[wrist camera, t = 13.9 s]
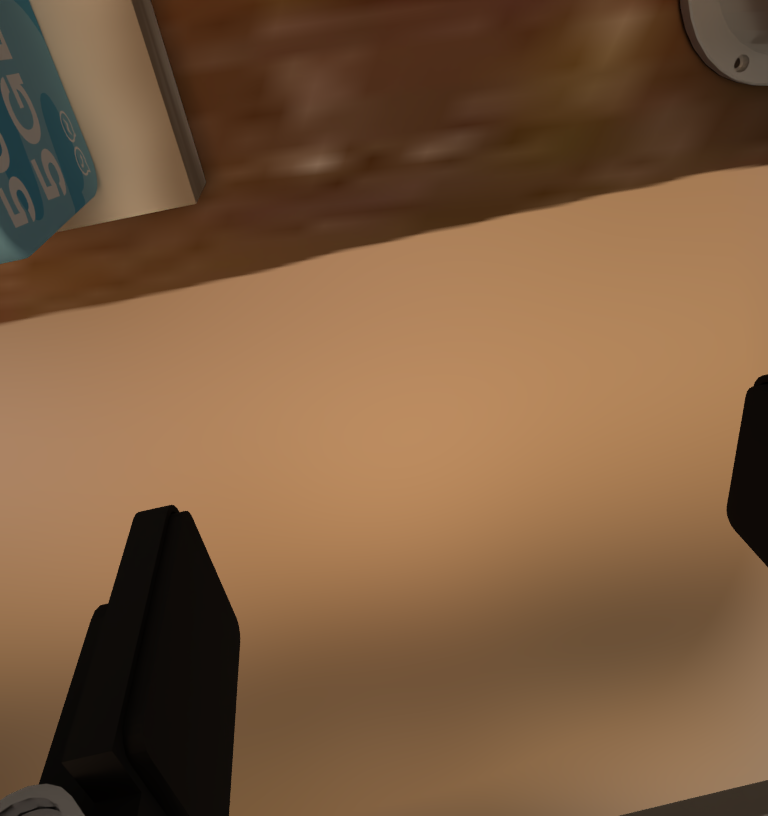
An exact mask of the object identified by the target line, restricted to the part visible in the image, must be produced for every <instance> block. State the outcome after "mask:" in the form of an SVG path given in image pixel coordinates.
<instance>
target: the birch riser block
mask: <svg viewBox="0 0 768 816" xmlns="http://www.w3.org/2000/svg"><path fill="white" fill-rule="evenodd" d="M29 2H30V5H31V7H32V10H33V12H34V15H35V17H36V20H37V22H38V25H39V27H40V30H41V32H42V35H43V37H44V40H45V42H46V45H47V47H48V50H49V52H50V55H51V57H52V60H53V62H54V65H55V67H56V70H57V72H58V75H59V77H60V80H61V82H62V85H63V87H64V90H65V92H66V95H67V97H68V100H69V102H70V105H71V107H72V110H73V112H74V115H75V117H76V120H77V122H78V125H79V127H80V130H81V132H82V135H83V137H84V140H85V142H86V145H87V147H88V150H89V152H90V155H91V158H92V161H93V164H94V167H95V171H96V177H97V192H96V194H95V196H94V197H93V198H92V199H91V200H90V201H89V202H88V203H87V204H86V205H85V206H83V207H82V208H81V209H80V210H79V211H78V212H77V213H76V214H75V215H74V216H73V217H72V218H71V219H69V220H68V221H67V222H66V223H65V224H64V225H63V226H62V227H61V228H60V229H59V230H58V231H57V232H60V231H65V230H69V229H74V228H79V227H84V226H89V225H94V224H99V223H104V222H109V221H114V220H119V219H123V218H128V217H133V216H138V215H143V214H148V213H153V212H158V211H163V210H168V209H173V208H177V207H182V206H187V205H192V204H196V203H197V201H198V199H199V197H200V195H201V192H202V190H203V188H204V186H205V184H206V180H205V177H204V174H203V170H202V167H201V164H200V161H199V157H198V154H197V151H196V148H195V144H194V141H193V138H192V134H191V131H190V128H189V125H188V121H187V118H186V115H185V112H184V108H183V105H182V102H181V99H180V95H179V92H178V89H177V85H176V82H175V79H174V76H173V72H172V69H171V66H170V63H169V59H168V56H167V53H166V50H165V46H164V43H163V40H162V36H161V33H160V30H159V27H158V23H157V20H156V17H155V14H154V10H153V7H152V4H151V0H29Z"/></svg>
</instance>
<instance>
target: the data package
mask: <svg viewBox="0 0 768 816" xmlns="http://www.w3.org/2000/svg"><path fill="white" fill-rule="evenodd" d="M96 192H97V177H96V171H95V167H94V164H93V161H92V158H91V155H90V152H89V150H88V147H87V145H86V142H85V140H84V137H83V135H82V132H81V130H80V127H79V125H78V122H77V120H76V117H75V115H74V112H73V110H72V107H71V105H70V102H69V100H68V97H67V95H66V92H65V90H64V87H63V85H62V82H61V80H60V77H59V75H58V72H57V70H56V67H55V65H54V62H53V60H52V57H51V55H50V52H49V50H48V47H47V45H46V42H45V40H44V37H43V35H42V32H41V30H40V27H39V25H38V22H37V20H36V17H35V15H34V12H33V10H32V7H31V5H30V2H29V0H0V264H2V263H7V262H11V261H16V260H21V259H25V258H28V257H29V256H31V255H32V254H33V253H34V252H35V251H36V250H37V249H38V248H39V247H40V246H41V245H43V244H44V243H45V242H46V241H47V240H48V239H49V238H50V237H51V236H52V235H53V234H54V233H55V232H57V231H58V230H59V229H60V228H61V227H62V226H63V225H64V224H65V223H66V222H67V221H68V220H69V219H71V218H72V217H73V216H74V215H75V214H76V213H77V212H78V211H79V210H80V209H81V208H82V207H83V206H85V205H86V204H87V203H88V202H89V201H90V200H91V199H92V198H93V197H94V196H95V194H96Z"/></svg>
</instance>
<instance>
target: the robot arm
mask: <svg viewBox="0 0 768 816" xmlns="http://www.w3.org/2000/svg"><path fill="white" fill-rule="evenodd" d="M680 7H681V12H682V16H683V21H684V25H685V30H686V32H687V34H688V36H689V39H690V41H691V43H692V45H693V48H694V49H695V51H696V52H697V53H698V55H699V56H700V57H701V59H702V60H703V61H704V63H705V64H706V65H707V66H709V67H710V68H711V69H712V70H714V71H715V72H716V73H718V74H719V75H720V76H723V77H725V78H727V79H730V80H732V81H734V82H737V83H744V84H749V85H765V86H768V0H680ZM735 61H736V62H735ZM734 64H735V65H734ZM727 516H728V519H729V522H730V524H731V526H732V527H733V528H734V529H735V531H736V532H737V533H738V534H739V535H740V537H741V538H742V539H743V540H744V541H745V542H746V543H747V544H748V545H749V547H750V548H751V549H752V550H753V551H754V552H755V553H756V554H757V556H759V558H760V559H761V560H762V561H763V562H764V563H765V564H766V566H767V567H768V375H763V376H761V377H759V378H758V379H757V380H756V382H755V384H754V387H751V388H749V390H748V391H747V394H746V397H745V403H744V409H743V415H742V421H741V427H740V432H739V438H738V444H737V450H736V456H735V462H734V467H733V473H732V480H731V485H730V491H729V497H728V503H727ZM239 651H240V631H239V625H238V621H237V618H236V616H235V614H234V611H233V609H232V607H231V605H230V602H229V600H228V598H227V595H226V593H225V591H224V588H223V586H222V584H221V582H220V579H219V577H218V575H217V572H216V570H215V568H214V566H213V564H212V561H211V559H210V557H209V554H208V552H207V550H206V547H205V545H204V543H203V541H202V538H201V536H200V534H199V531H198V529H197V527H196V525H195V522H194V520H193V518H192V516H191V514H190V513H189V512H188V511H183V512H179V511H178V509H177V508H176V507H175V506H174V505H169V506H164V507H160V508H155V509H151V510H146V511H141V512H138V513H137V514H136V515H135V517H134V519H133V522H132V525H131V529H130V532H129V536H128V539H127V543H126V546H125V549H124V553H123V556H122V560H121V563H120V566H119V569H118V573H117V576H116V579H115V583H114V586H113V590H112V593H111V596H110V600H109V603H108V604H104V605H100V606H99V607H98V608H97V609H96V610H95V612H94V614H93V617H92V619H91V622H90V625H89V628H88V631H87V634H86V637H85V640H84V644H83V647H82V650H81V653H80V656H79V659H78V663H77V666H76V669H75V672H74V675H73V678H72V681H71V685H70V688H69V691H68V694H67V697H66V701H65V704H64V707H63V710H62V713H61V716H60V719H59V722H58V726H57V729H56V732H55V735H54V738H53V741H52V745H51V748H50V751H49V754H48V757H47V760H46V764H45V767H44V770H43V773H42V776H41V779H40V782H39V785H33V786H27V787H25V788H23V789H20V790H18V791H16V792H14V793H11V794H9V795H7V796H6V797H4V798H3V799H2V800H0V816H229V805H230V790H231V789H230V788H231V775H232V774H231V773H232V759H233V744H234V728H235V727H234V726H235V713H236V696H237V681H238V666H239ZM620 816H768V780H766V781H762V782H758V783H754V784H750V785H745V786H741V787H737V788H733V789H729V790H724V791H720V792H716V793H712V794H708V795H704V796H699V797H695V798H691V799H687V800H683V801H678V802H674V803H670V804H666V805H662V806H658V807H654V808H649V809H645V810H642V811H637V812H633V813H629V814H625V815H620Z"/></svg>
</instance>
